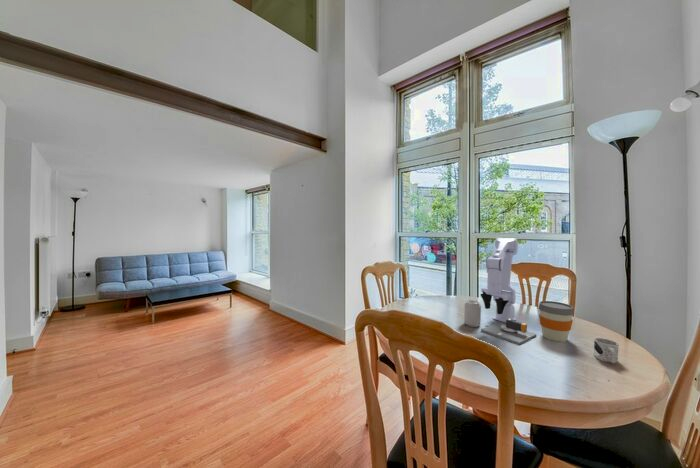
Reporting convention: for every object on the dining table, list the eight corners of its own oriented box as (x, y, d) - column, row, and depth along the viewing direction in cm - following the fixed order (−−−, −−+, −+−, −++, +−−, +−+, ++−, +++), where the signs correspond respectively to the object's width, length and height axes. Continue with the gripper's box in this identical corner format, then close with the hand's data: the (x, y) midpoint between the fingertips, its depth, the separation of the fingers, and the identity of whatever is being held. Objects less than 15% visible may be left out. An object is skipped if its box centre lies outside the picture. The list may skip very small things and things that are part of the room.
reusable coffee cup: (573, 337, 120) (574, 304, 119) (571, 346, 111) (572, 311, 110) (539, 329, 129) (540, 299, 128) (535, 337, 119) (536, 304, 119)
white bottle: (477, 322, 137) (477, 299, 137) (482, 328, 130) (483, 304, 130) (462, 321, 138) (462, 299, 138) (467, 327, 131) (467, 303, 130)
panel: (498, 324, 135) (498, 321, 135) (536, 336, 121) (536, 333, 121) (481, 331, 126) (481, 328, 126) (519, 345, 112) (519, 342, 112)
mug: (590, 352, 105) (591, 336, 105) (612, 356, 103) (613, 339, 102) (601, 364, 96) (602, 347, 96) (626, 369, 94) (627, 351, 93)
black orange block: (497, 329, 126) (498, 318, 126) (505, 326, 130) (505, 315, 129) (521, 337, 117) (522, 325, 117) (529, 333, 121) (529, 322, 121)
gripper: (476, 280, 130) (475, 306, 131) (499, 287, 116) (498, 317, 117) (488, 279, 132) (487, 305, 133) (512, 286, 118) (511, 315, 119)
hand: (493, 311), depth 125 cm, fingers open, 7 cm apart
